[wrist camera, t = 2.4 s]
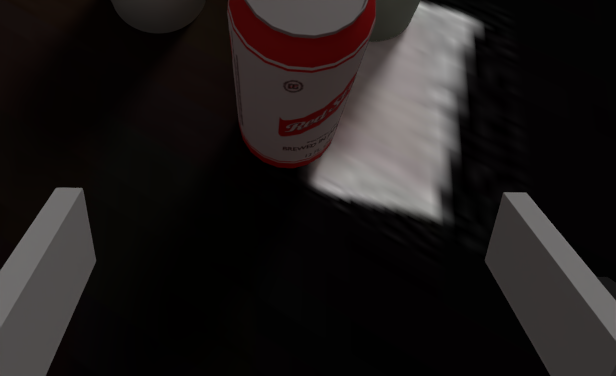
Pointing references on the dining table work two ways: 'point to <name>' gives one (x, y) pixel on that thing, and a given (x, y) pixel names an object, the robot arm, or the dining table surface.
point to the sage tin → (392, 18)
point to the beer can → (295, 72)
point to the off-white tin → (158, 13)
